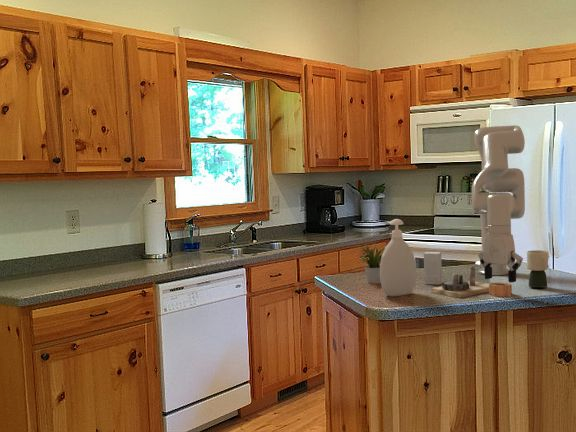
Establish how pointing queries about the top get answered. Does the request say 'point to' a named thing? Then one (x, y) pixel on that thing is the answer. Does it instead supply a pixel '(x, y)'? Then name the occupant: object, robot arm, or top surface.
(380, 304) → the top surface
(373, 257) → the house plant
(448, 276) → the top surface
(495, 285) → the loose gear
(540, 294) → the top surface
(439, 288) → the gear board
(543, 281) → the character mug
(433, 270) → the skincare box
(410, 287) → the soap bottle
